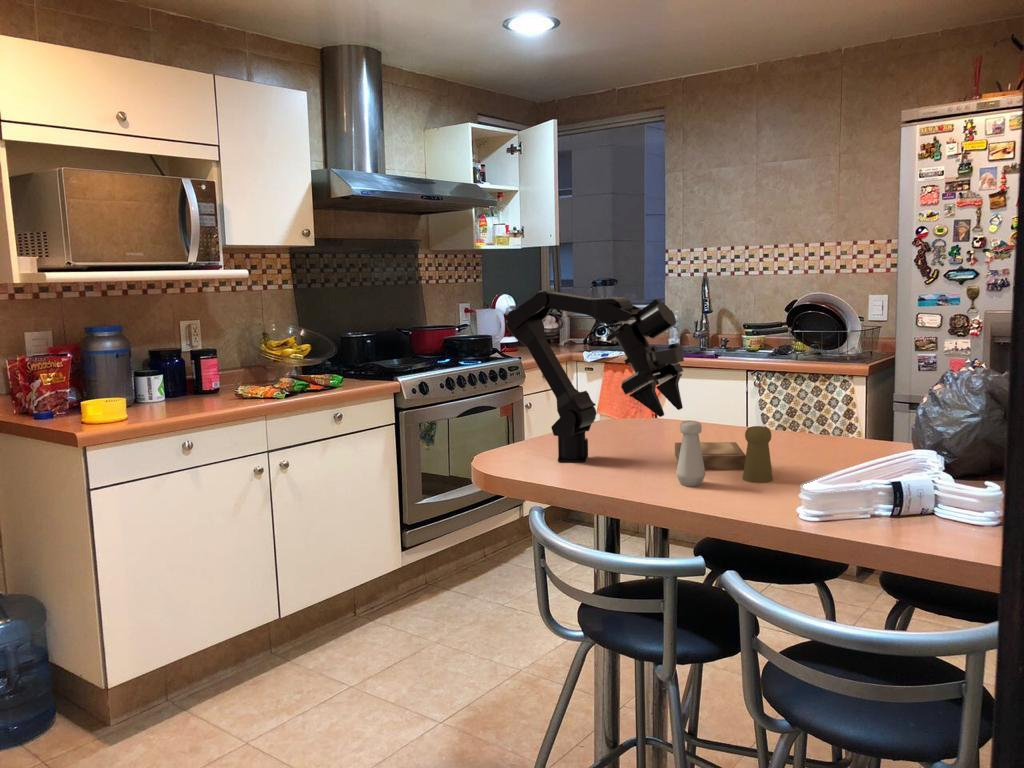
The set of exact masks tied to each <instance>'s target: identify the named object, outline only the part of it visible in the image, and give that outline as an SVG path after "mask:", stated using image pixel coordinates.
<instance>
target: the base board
mask: <svg viewBox="0 0 1024 768" xmlns="http://www.w3.org/2000/svg"><path fill="white" fill-rule="evenodd" d="M681 443H682V442H674V456H675V459H676V462H677V463H678V461H679V455H680V449H681ZM700 446H701V451H702V457H703V463H704V469H705V471H706V470H707V471H709V470H713V471H715V470H724V471H725V470H728V471H729V470H731V471H733V470H739V471H741V470H742V471H744V465H745V458H746V454H745V453H744V451H743V450H742V449H741V447H740V446H739V444H738V443H737V441H735V442H733V441H732V442H731V441H730V442H729V441H728V442H727V441H726V442H721V441H717V442H716V441H715V442H713V441H712V442H704V441H703V442H702V441H700Z"/></svg>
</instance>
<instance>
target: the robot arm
mask: <svg viewBox="0 0 1024 768" xmlns="http://www.w3.org/2000/svg"><path fill="white" fill-rule="evenodd" d="M551 310H556V311H564V312H568V313H569V312H570V313H574V314H580V315H585V316H588V317H591V318H592V319H594V320H595V321H597V322H600V323H603V324H605V325H609V326H610V325H618V324H622V325H620V326H618V327H617V328H614V327H613V328H609V330H608V334H607V337H606V341H607V342H611V341H617V342H618V345H619V346H620V348H621V349H622V351H623V353H624V355H625V357H626V359H625V360H624V363H625V365H630V366H631V369H632V370H633V372H634V373H633V374H632V375H630V376H628V377H627V378H626V379H623V380H622V381H621V386H620V387H621V390H622V391H623V393H624V395H625V396H626V395H628V396H629V397H630V398H633V399H635V400H636V401H637V402H639V403H641V404H642V405H643V406H644V407H646V408H647V409H649V410H650V411H651V412H653V414H655V415H656V416H658V417H659V418H661V417H664V416H665V412H664V409H663V406H662V404H661V401H660V399H659V396H658V394H657V392H656V389H657V390H658V391H659V392H660V393H661V394H662V395H663V397H665V398H666V399H667V401H668V402H669V403H670V404H671V405H672V406H673V407H675V408H676V410H678V411H680V410H682V409H683V406H684V405H683V403H682V402H683V401H682V397H681V392H680V386H679V383H680V382H679V381H680V379H681V377H683V372H684V369H683V367H682V366H681V364H680V362H685V359H684V355H685V354H686V350H685V349H684V348H683V346H681V344H680V343H679V342H675V343H671V344H668V348H667V349H662V350H659V349H658V347H657V346H655V345H652V346H651V344H650V342H649V341H648V339H647V338H651V339H655V338H657V337H658V336H661V334H664V332H666V331H668V330H670V329H671V328H672V327H675V325H676V324H677V318H676V315H675V313H674V311H673V310H672V309H671V308H670V307H669V306H667V304H665V303H663V301H662V299H660V298H655V299H653V300H652V301H651V302H650V303H649V304H647V305H646V306H644V307H643V308H640V307H638V306H636V305H633V303H632V302H631V300H630V299H629V298H627V297H624V296H622V297H621V296H619V297H600V298H597V297H596V298H595V297H591V296H590V297H588V296H583V295H578V294H571V293H563V292H560V291H559V292H558V291H555V290H552V289H549V290H548V289H547V290H540V291H538V292H536V293H535V294H534V295H533V296H532V297H530V299H528V300H526V301H525V302H524V303H522V304H520V305H519V306H518V307H517V308H515V309H514V308H513V309H512V310H510V311H509V312H508V313H507V316H506V321H505V326H506V328H507V329H508V331H509V333H511V335H512V336H513V337H514V338H515V340H518V342H520V343H521V344H522V345H523V346H525V347H526V348H527V350H528V351H529V353H530V355H531V356H532V358H533V360H534V363H535V364H536V365H537V367H538V369H539V371H540V372H541V374H542V376H543V377H544V379H545V381H546V382H547V384H548V386H549V388H550V389H551V392H552V393H553V395H554V397H555V399H556V411H557V413H558V416H559V418H558V419H557V420H556V421H555V422H554V423H553V424H552V426H551V431H552V434H553V437H554V436H555V437H557V449H558V453H557V454H558V455H557V457H558V458H557V462H558V463H560V462H561V463H575V462H576V463H579V462H580V463H581V462H583V463H585V462H587V458H589V438H587V437H586V432H590V429H591V427H592V425H593V423H594V422H595V421H596V416H597V410H596V408H595V406H596V403H595V402H594V401H593V400H592V398H591V397H590V394H589V392H588V391H587V390H584V391H579V390H577V389H576V387H575V386H574V384H573V383H572V381H571V380H570V378H569V376H568V374H567V373H566V371H565V369H564V367H563V365H562V364H561V363H560V362H561V361H560V360H559V359H558V357H557V356H556V354H555V352H554V350H553V349H552V347H551V346H550V343H549V342H548V340H547V338H546V334H545V332H546V331H545V325H544V319H546V318H547V316H548V315H549V314H550V312H551ZM633 320H634V321H633ZM629 321H633V322H632V323H628V322H629Z"/></svg>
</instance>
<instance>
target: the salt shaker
mask: <svg viewBox="0 0 1024 768" xmlns="http://www.w3.org/2000/svg"><path fill="white" fill-rule="evenodd" d="M679 431H680V433H681V434H682V439H681V442H680V443H681V449H680V455H679V461H678V462H677V467H676V472H675V473H676V477H677V479H678V481H679V484H680V485H681V486H684V487H690V486H695V488H696V487H699V486H701V485H702V484H703V481H704V479H705V476H706V470H705V469H704V463H703V457H702V451H701V446H700V442H701V441H700V435H699V434H701V433H702V423H701V422H700V421H697V420H684V421H682V422H680V425H679Z"/></svg>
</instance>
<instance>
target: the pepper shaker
mask: <svg viewBox="0 0 1024 768" xmlns="http://www.w3.org/2000/svg"><path fill="white" fill-rule="evenodd" d="M744 437H745V440H746V443H747V446H746V452H745V453H746V454H745V455H746V458H745V465H744V470H743V472H742V474H743V475H742V480H743V481H745V482H749V483H756V484H763V483H771V482H773V481H774V478H773V477H774V476H773V470H772V461H771V453H770V446H769V443H770V441H771V440H772V431H771V429H770V428H768V427H766V426H762V425H755V426H749V427H748V428H746V430H745V432H744Z"/></svg>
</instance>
